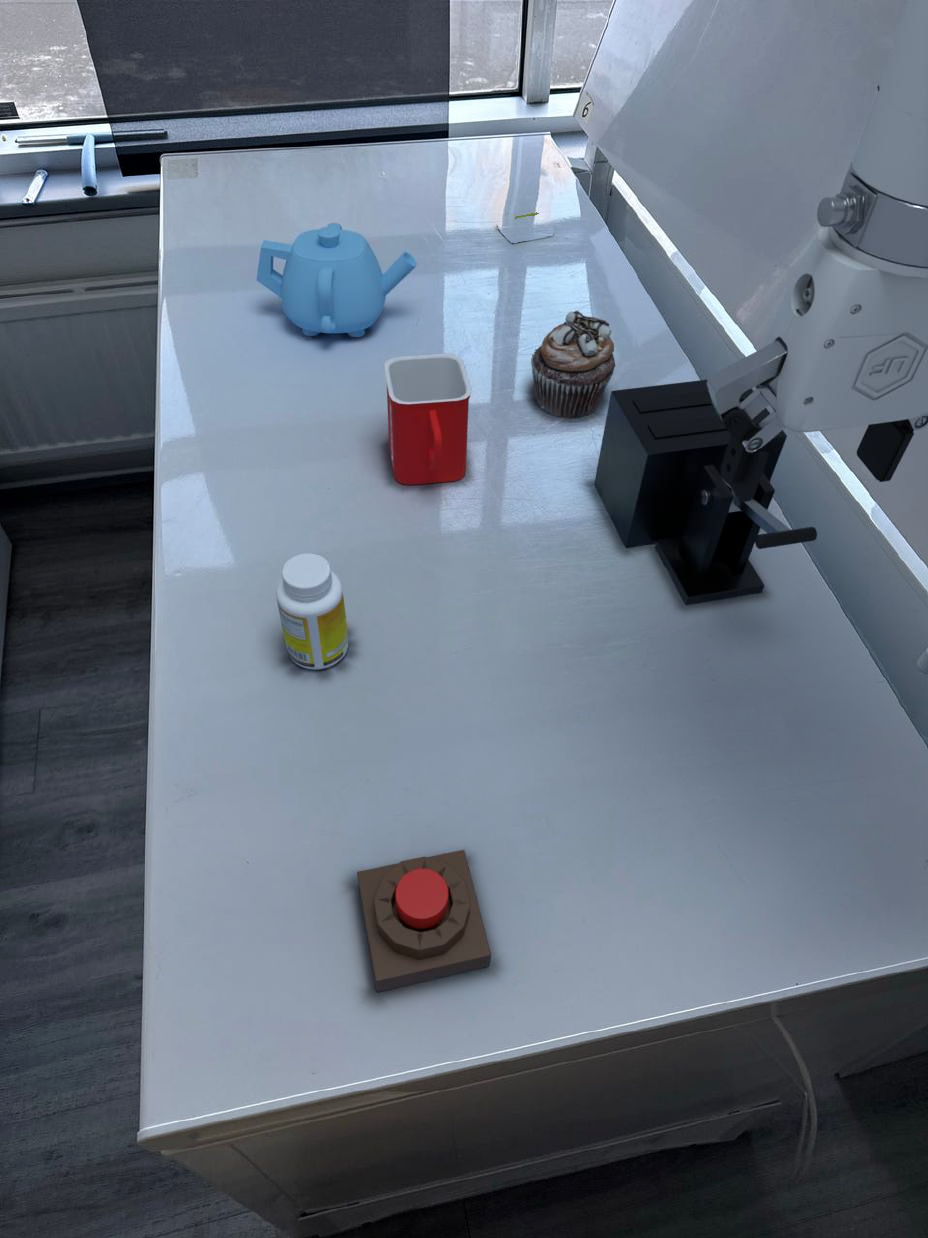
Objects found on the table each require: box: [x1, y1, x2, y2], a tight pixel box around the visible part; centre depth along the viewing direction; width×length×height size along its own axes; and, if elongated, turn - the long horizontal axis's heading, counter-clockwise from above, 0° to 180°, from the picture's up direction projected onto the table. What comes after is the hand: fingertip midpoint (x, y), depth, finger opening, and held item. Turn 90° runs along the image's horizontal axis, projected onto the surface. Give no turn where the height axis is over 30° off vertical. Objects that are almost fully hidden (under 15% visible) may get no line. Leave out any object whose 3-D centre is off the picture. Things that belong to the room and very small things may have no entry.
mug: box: [383, 353, 472, 486], centre depth 93 cm, size 12×8×11 cm
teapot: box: [256, 222, 418, 338], centre depth 112 cm, size 20×17×12 cm
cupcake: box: [530, 310, 616, 419], centre depth 103 cm, size 10×10×10 cm
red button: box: [395, 868, 449, 929], centre depth 61 cm, size 4×4×2 cm
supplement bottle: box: [275, 553, 349, 670], centre depth 77 cm, size 6×6×10 cm
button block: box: [356, 849, 492, 993], centre depth 63 cm, size 8×8×4 cm
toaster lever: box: [721, 476, 818, 550], centre depth 78 cm, size 11×5×2 cm, turn 13°
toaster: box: [593, 378, 788, 548], centre depth 90 cm, size 10×14×12 cm
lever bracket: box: [655, 465, 776, 605], centre depth 85 cm, size 8×8×12 cm
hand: (804, 477), depth 58 cm, fingers open, 9 cm apart
